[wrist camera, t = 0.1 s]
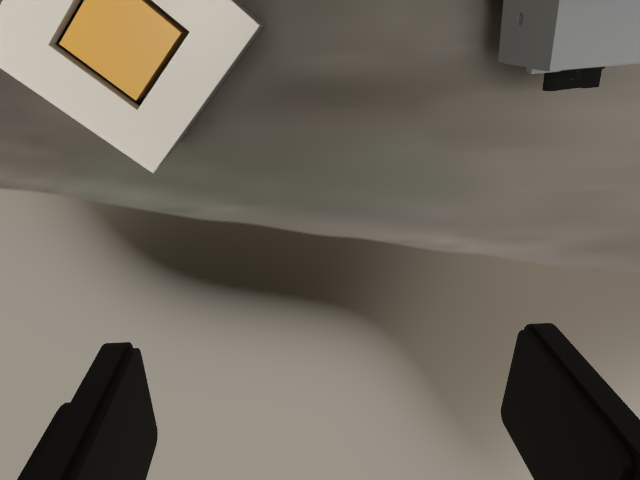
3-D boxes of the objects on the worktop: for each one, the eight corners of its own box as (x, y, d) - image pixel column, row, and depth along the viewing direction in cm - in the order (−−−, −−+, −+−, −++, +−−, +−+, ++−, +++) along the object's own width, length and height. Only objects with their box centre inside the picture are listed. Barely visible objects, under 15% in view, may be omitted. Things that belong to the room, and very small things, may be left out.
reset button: (127, -25, 30) (102, -32, 26) (194, 31, 32) (180, 32, 28) (87, 40, 32) (59, 44, 28) (153, 91, 33) (135, 100, 29)
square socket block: (127, -98, 32) (74, -139, 24) (264, 25, 36) (259, 25, 28) (46, 44, 35) (-24, 51, 27) (179, 142, 39) (153, 173, 31)
